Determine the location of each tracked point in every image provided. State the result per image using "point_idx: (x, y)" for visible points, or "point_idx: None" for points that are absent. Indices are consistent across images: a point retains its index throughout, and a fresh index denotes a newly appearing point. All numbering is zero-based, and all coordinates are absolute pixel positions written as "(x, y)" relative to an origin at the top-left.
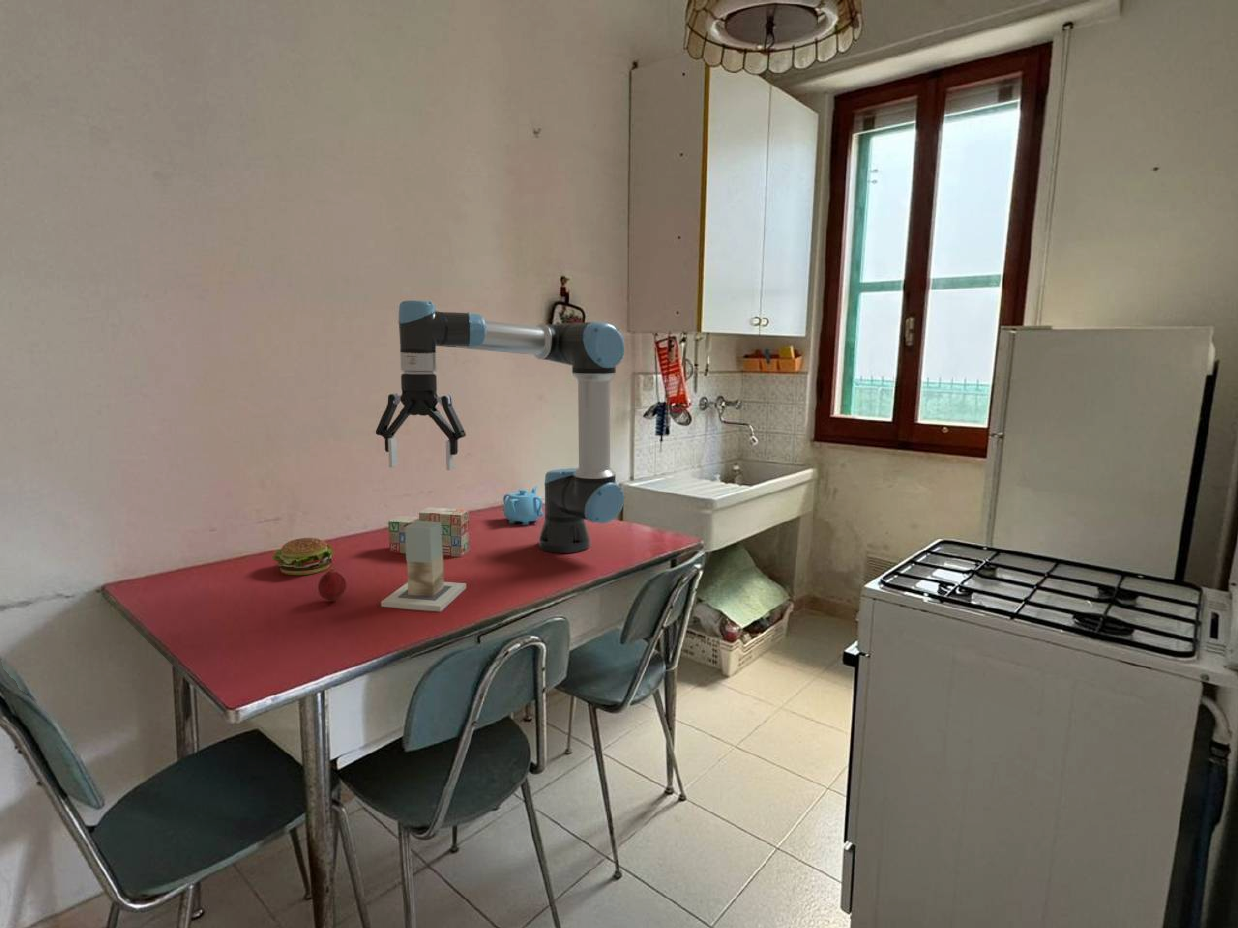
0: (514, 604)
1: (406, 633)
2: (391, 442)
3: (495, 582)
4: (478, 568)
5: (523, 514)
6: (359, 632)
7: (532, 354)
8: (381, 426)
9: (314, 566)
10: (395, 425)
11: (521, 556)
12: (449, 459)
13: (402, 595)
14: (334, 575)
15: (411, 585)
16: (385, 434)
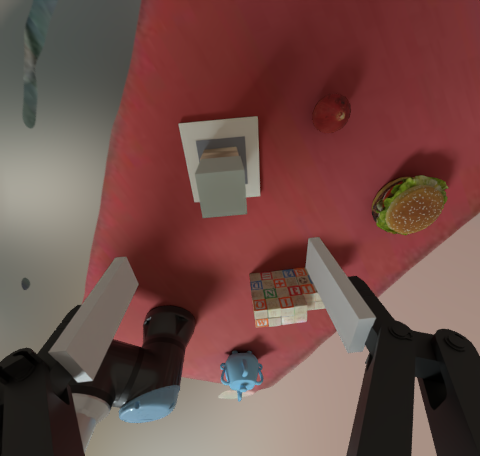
0: (114, 171)
1: (175, 32)
2: (349, 305)
3: (175, 223)
4: (215, 252)
5: (234, 360)
6: (237, 14)
7: None
8: (468, 385)
9: (385, 192)
10: (376, 409)
11: (193, 290)
12: (98, 284)
13: (241, 142)
14: (332, 110)
15: (232, 149)
16: (403, 336)
